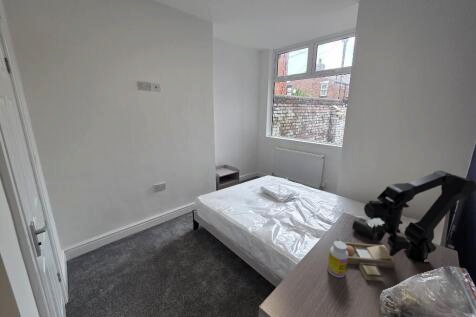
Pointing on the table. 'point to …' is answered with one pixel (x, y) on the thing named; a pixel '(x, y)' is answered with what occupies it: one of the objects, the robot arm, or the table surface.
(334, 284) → the table surface
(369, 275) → the grey framed beige square
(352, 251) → the ball
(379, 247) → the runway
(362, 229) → the end cap
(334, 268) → the supplement bottle
